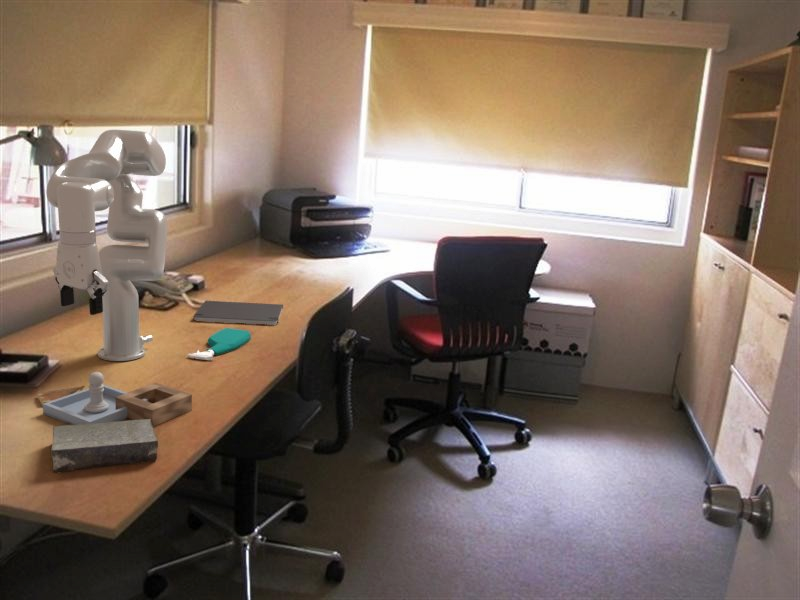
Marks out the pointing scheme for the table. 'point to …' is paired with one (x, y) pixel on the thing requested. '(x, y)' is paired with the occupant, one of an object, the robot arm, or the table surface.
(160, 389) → the square wooden frame
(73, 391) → the shard
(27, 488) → the table surface
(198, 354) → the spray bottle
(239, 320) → the notebook
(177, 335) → the table surface
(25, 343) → the table surface
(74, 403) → the tray
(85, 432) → the stone block
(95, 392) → the chess piece
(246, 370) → the table surface
